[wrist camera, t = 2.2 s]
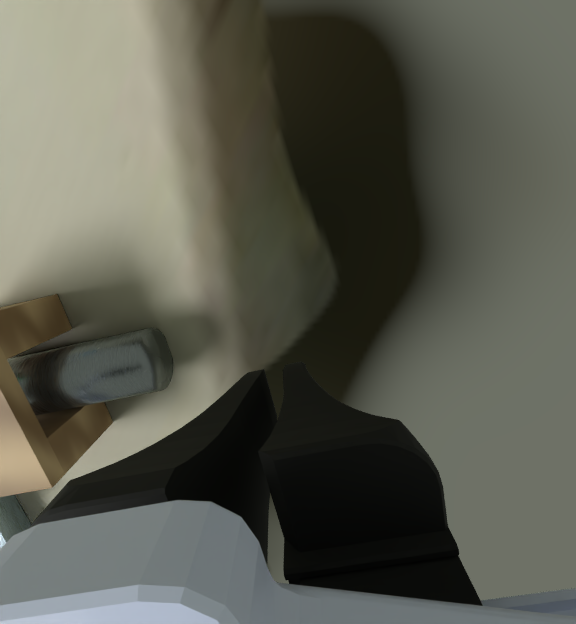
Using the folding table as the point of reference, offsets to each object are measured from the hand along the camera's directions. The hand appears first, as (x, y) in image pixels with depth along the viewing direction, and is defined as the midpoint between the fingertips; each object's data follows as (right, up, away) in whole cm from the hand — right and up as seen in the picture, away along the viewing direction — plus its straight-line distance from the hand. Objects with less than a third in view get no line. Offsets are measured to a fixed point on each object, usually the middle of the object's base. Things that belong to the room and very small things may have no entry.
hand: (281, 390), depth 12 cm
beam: (-16, -1, +10) cm, 19 cm away
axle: (-14, -1, +10) cm, 17 cm away
